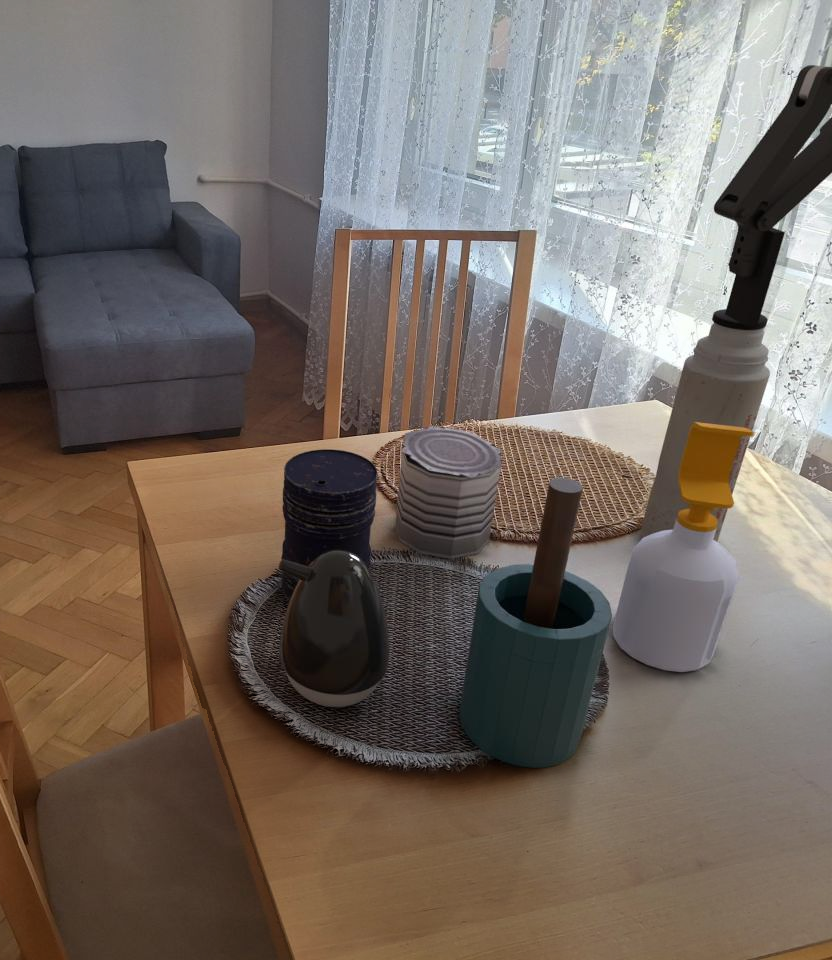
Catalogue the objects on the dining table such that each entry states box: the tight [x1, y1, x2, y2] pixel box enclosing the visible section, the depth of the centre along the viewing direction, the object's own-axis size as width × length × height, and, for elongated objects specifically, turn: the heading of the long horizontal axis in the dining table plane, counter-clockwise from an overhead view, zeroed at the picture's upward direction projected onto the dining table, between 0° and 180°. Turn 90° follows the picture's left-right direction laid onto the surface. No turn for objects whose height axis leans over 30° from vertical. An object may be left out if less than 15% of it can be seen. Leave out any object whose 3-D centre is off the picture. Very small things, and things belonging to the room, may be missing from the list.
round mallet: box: [523, 477, 584, 629], centre depth 71 cm, size 5×5×24 cm
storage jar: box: [280, 448, 378, 602], centre depth 93 cm, size 10×10×15 cm
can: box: [394, 425, 503, 560], centre depth 103 cm, size 11×11×12 cm
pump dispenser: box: [278, 549, 390, 708], centre depth 79 cm, size 10×10×15 cm
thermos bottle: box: [639, 308, 771, 542], centre depth 95 cm, size 8×8×28 cm
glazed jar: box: [459, 563, 613, 769], centre depth 74 cm, size 10×10×14 cm
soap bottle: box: [612, 422, 755, 673], centre depth 80 cm, size 9×9×25 cm
